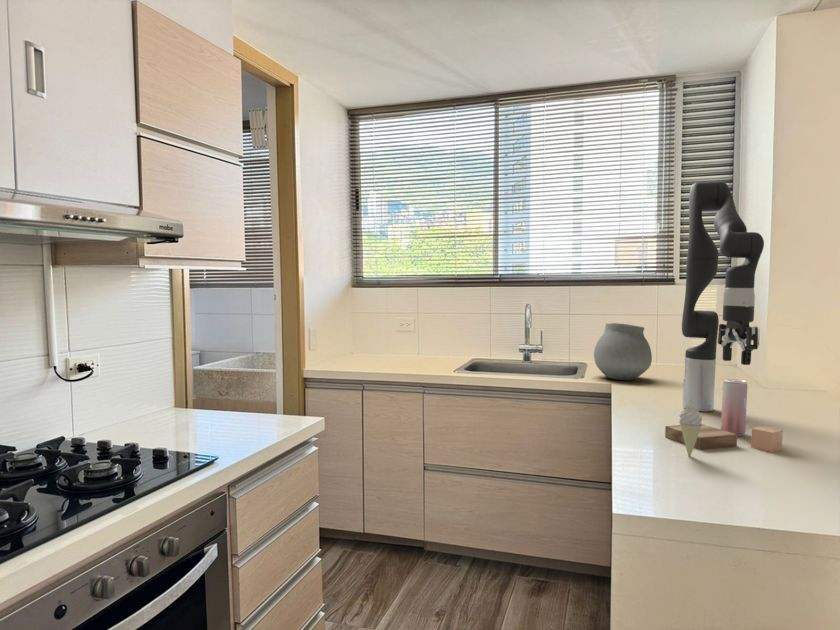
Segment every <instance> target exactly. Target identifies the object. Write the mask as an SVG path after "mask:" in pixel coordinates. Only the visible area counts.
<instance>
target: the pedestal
mask: <svg viewBox="0 0 840 630" xmlns="http://www.w3.org/2000/svg"><path fill="white" fill-rule="evenodd" d="M702 424H703V425H702V426H701V428H700V431H699V434H698V437H697V440H696V443H695V445H694V448H693V449H697V450H707V449H709V450H711V449H718V448H719V449H720V448H729V447H737V445H738V436H737V434H734V433H730V432H727V431H724V430H721V428H717V427H714V426H710V425H707V424H704V423H702ZM664 431H665V432H664V437H665V438H667V439H669V440H672V441H675V442H678V443H681V444H684V445H685V441H684V437H683V433H682V429H681V425H680V424H679V425H678V424H677V425H676V424H675V425H665V430H664Z"/></svg>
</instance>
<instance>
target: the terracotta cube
mask: <svg viewBox="0 0 840 630" xmlns="http://www.w3.org/2000/svg"><path fill="white" fill-rule="evenodd" d="M783 430H784V429H783ZM783 430H782V429H778V428H775V427H774V428H773V427H768V426H765V425H760V426H756V427H752V428H751V441H750V442H751V443H750V448H752V449H757V450H761V451H765V452H768V453H774V452H778V451H780V450H782V449H783Z"/></svg>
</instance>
